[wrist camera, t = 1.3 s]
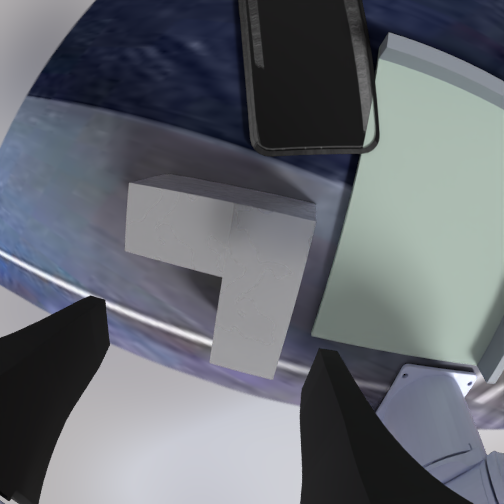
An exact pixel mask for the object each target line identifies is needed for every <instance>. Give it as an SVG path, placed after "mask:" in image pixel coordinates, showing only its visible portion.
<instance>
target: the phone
mask: <svg viewBox="0 0 504 504" xmlns="http://www.w3.org/2000/svg"><path fill="white" fill-rule="evenodd" d="M238 2H239V6H238V7H239V16H240V23H241V35H242V47H243V58H244V70H245V82H246V94H247V106H248V118H249V131H250V140H251V144H252V146H253V148H254V149H255V150H256V151H257V152H258V153H259V154H262V155H264V156H288V155H314V154H364V153H369V152H371V151H372V150H374V149H375V147H376V146H377V145H378V142H379V138H380V130H379V116H378V104H377V94H376V85H375V76H374V68H373V60H372V53H371V47H370V40H369V34H368V29H367V23H366V18H365V12H364V7H363V3H362V0H238ZM372 98H373V99H374V110H375V123H376V136H375V139H374V141H373V142H372V143H371V145H370V146H368V147H366V148H363V145H364V140H365V135H366V130H367V125H368V120H369V114H370V109H371V103H372Z"/></svg>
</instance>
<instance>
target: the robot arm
mask: <svg viewBox="0 0 504 504" xmlns="http://www.w3.org/2000/svg"><path fill="white" fill-rule="evenodd" d="M109 346H110V341H109V333H108V324H107V314H106V303H105V300H104V299H100V298H97V297H94V296H88V297H86V298H84V299H82V300H79V301H77V302H75V303H73V304H71V305H70V306H68V307H66V308H64V309H62V310H60V311H58V312H56V313H54V314H52V315H50V316H48V317H46V318H44V319H42V320H40V321H38V322H36V323H34V324H32V325H29V326H27V327H25V328H23V329H21V330H19V331H16V332H14V333H12V334H9V335H7V336H4V337H1V338H0V495H1V496H2V497H3V498H5V499H6V500H8V501H10V500H11V499H13V500H14V501H16V502H17V503H19V504H39V499H40V494H41V490H42V486H43V481H44V478H45V475H46V471H47V468H48V465H49V462H50V459H51V456H52V453H53V451H54V448H55V445H56V443H57V440H58V438H59V436H60V433H61V431H62V429H63V427H64V424H65V422H66V420H67V418H68V417H69V415H70V413H71V411H72V410H73V408H74V406H75V405H76V403H77V402H78V400H79V398H80V397H81V395H82V394H83V392H84V390H85V389H86V388H87V386H88V384H89V383H90V381H91V380H92V378H93V376H94V375H95V373H96V372H97V370H98V368H99V367H100V365H101V363H102V361H103V359H104V357H105V354H106V352H107V350H108V348H109ZM403 374H406V375H403ZM476 379H477V375H476V373H473V372H465V371H456V370H449V369H441V368H434V367H427V366H420V365H414V364H405V365H404V366H403V367H402V368H401V370H400V372H399V374H398V375H397V377H396V379H395V381H394V383H393V384H392V386H391V388H390V390H389V391H388V393H387V395H386V396H385V398H384V400H383V401H382V403H381V405H380V406H379V408H378V409H377V411H376V413H375V412H374V410H373V409H372V407H371V406H370V404H369V403H368V401H367V400H366V398H365V397H364V395H363V394H362V392H361V390H360V389H359V387H358V386H357V384H356V382H355V381H354V379H353V377H352V376H351V374H350V372H349V370H348V369H347V367H346V365H345V364H344V362H343V360H342V358H341V357H340V355H339V353H338V352H337V351H333V350H327V349H320V348H319V350H318V353H317V355H316V357H315V360H314V362H313V365H312V367H311V369H310V372H309V374H308V376H307V379H306V381H305V383H304V385H303V388H302V392H301V404H300V432H301V453H302V490H301V501H300V504H504V453H499V452H498V453H497V452H496V451H493V452H491V453H490V454H489V455H487V454H486V451H485V449H484V446H483V443H482V440H481V438H480V435H479V432H478V430H477V427H476V425H475V422H474V420H473V417H472V415H471V412H470V410H469V407H468V405H467V403H466V400H465V398H464V397H465V396H466V394H467V393H468V391H469V390H470V388H471V387H472V385H473V384H474V382H475V381H476ZM0 504H5V503H3V502H2V501H0Z"/></svg>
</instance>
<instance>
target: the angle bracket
mask: <svg viewBox="0 0 504 504" xmlns="http://www.w3.org/2000/svg"><path fill="white" fill-rule="evenodd" d="M315 225H316V204H315V203H311V202H306V201H302V200H298V199H294V198H289V197H285V196H280V195H276V194H271V193H267V192H262V191H257V190H252V189H248V188H243V187H238V186H233V185H228V184H223V183H218V182H212V181H207V180H202V179H196V178H191V177H185V176H180V175H174V174H164V175H159V176H155V177H151V178H146V179H142V180H138V181H134V182H130V183H129V189H128V201H127V216H126V235H125V251H127V252H130V253H134V254H137V255H141V256H144V257H148V258H152V259H155V260H159V261H163V262H166V263H170V264H174V265H177V266H181V267H185V268H188V269H192V270H196V271H200V272H204V273H207V274H211V275H215V276H219V277H222V284H221V290H220V296H219V303H218V310H217V316H216V323H215V330H214V336H213V343H212V350H211V357H210V363H212V364H215V365H219V366H222V367H225V368H229V369H233V370H236V371H240V372H244V373H247V374H251V375H255V376H259V377H263V378H267V379H271V380H273V377H274V373H275V370H276V367H277V364H278V360H279V357H280V354H281V351H282V347H283V344H284V340H285V337H286V334H287V330H288V327H289V323H290V320H291V316H292V313H293V309H294V306H295V302H296V298H297V295H298V291H299V287H300V284H301V280H302V276H303V272H304V269H305V265H306V261H307V257H308V253H309V249H310V245H311V241H312V237H313V233H314V229H315Z"/></svg>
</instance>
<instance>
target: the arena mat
mask: <svg viewBox="0 0 504 504" xmlns="http://www.w3.org/2000/svg"><path fill="white" fill-rule="evenodd" d="M380 47H381V45H380ZM380 47H379V51H378V58H377V65H376V71H375V85H376V94H377V104H378V116H379V130H380V138H379V142H378V145H377V146H376V147H375V149H374V150H372V151H371V152H369V153H364V154H360V157H359V161H358V166H357V170H356V175H355V179H354V183H353V188H352V192H351V196H350V200H349V204H348V208H347V212H346V216H345V220H344V224H343V228H342V231H341V235H340V239H339V242H338V246H337V250H336V253H335V257H334V260H333V264H332V267H331V271H330V274H329V277H328V281H327V284H326V287H325V291H324V294H323V297H322V300H321V304H320V307H319V310H318V313H317V316H316V319H315V322H314V325H313V328H312V331H311V336H313V337H318V338H322V339H327V340H332V341H336V342H341V343H346V344H351V345H356V346H361V347H366V348H371V349H376V350H382V351H387V352H393V353H398V354H404V355H410V356H416V357H422V358H428V359H434V360H441V361H448V362H455V363H462V364H470V365H477V364H478V363H479V361H480V359H481V358H482V356H483V354H484V352H485V351H486V349H487V347H488V345H489V343H490V341H491V339H492V338H493V336H494V334H495V332H496V330H497V328H498V326H499V324H500V322H501V320H502V318H503V316H504V110H503V109H501V108H499V107H498V106H496V105H494V104H492V103H490V102H488V101H486V100H484V99H482V98H480V97H478V96H476V95H474V94H472V93H469V92H467V91H465V90H463V89H461V88H458V87H456V86H454V85H452V84H449V83H447V82H444V81H442V80H439V79H437V78H434V77H432V76H429V75H427V74H424V73H421V72H419V71H416V70H413V69H410V68H407V67H404V66H401V65H398V64H395V63H392V62H389V61H385V60H382V59H379V54H380ZM375 136H376V123H375V110H374V99H373V98H372V103H371V109H370V114H369V120H368V125H367V130H366V135H365V140H364V145H363V148H366V147H368V146H370V145H371V143H372V142H373V141H374V139H375Z"/></svg>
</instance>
